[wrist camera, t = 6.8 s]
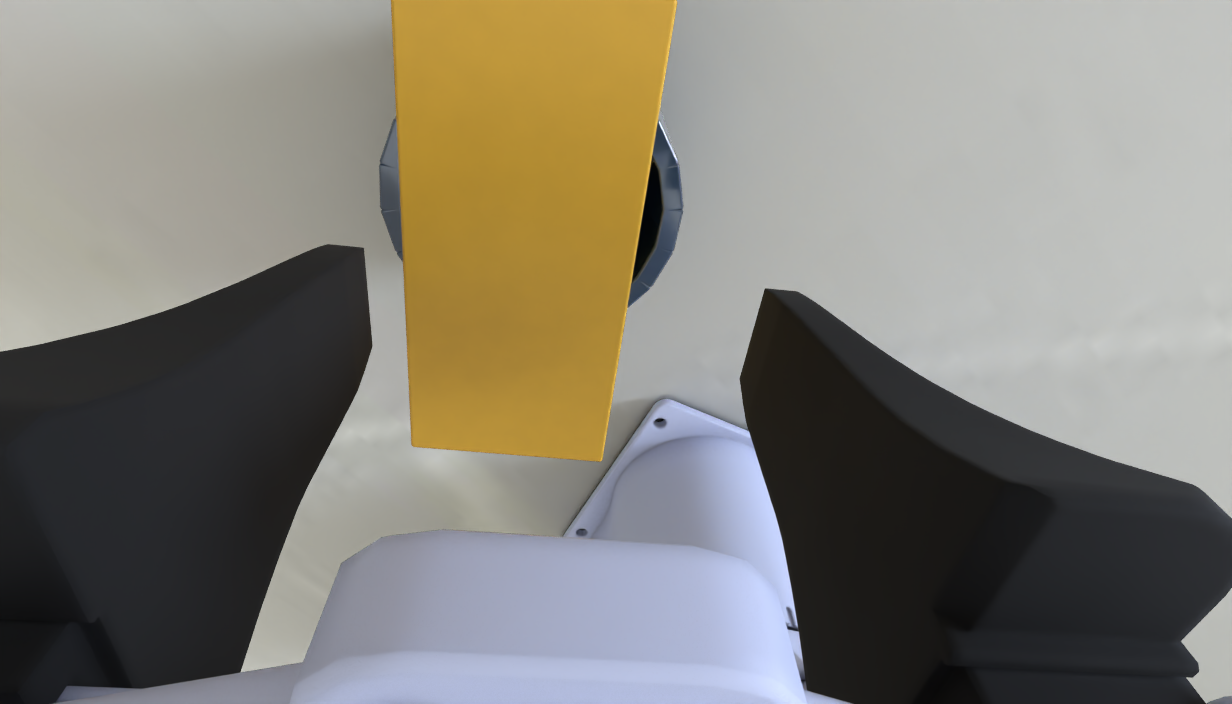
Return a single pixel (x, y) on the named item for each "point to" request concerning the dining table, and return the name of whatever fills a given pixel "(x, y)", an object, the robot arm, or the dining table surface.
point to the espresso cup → (656, 220)
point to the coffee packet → (522, 212)
